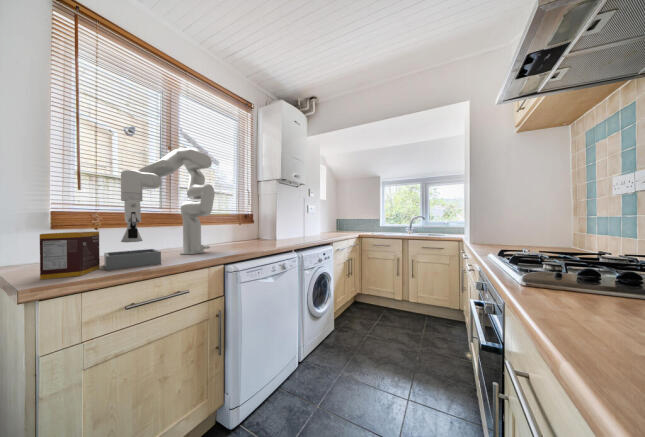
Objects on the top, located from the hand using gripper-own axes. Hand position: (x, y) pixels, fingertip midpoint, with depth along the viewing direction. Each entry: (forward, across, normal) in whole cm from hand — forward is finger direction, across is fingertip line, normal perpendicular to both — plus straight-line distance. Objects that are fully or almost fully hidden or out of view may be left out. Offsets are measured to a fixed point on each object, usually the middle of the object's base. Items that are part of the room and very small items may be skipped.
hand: (132, 237), depth 103 cm
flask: (+2, 0, 0) cm, 2 cm away
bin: (+12, 0, 0) cm, 12 cm away
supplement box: (+13, -6, +18) cm, 23 cm away
